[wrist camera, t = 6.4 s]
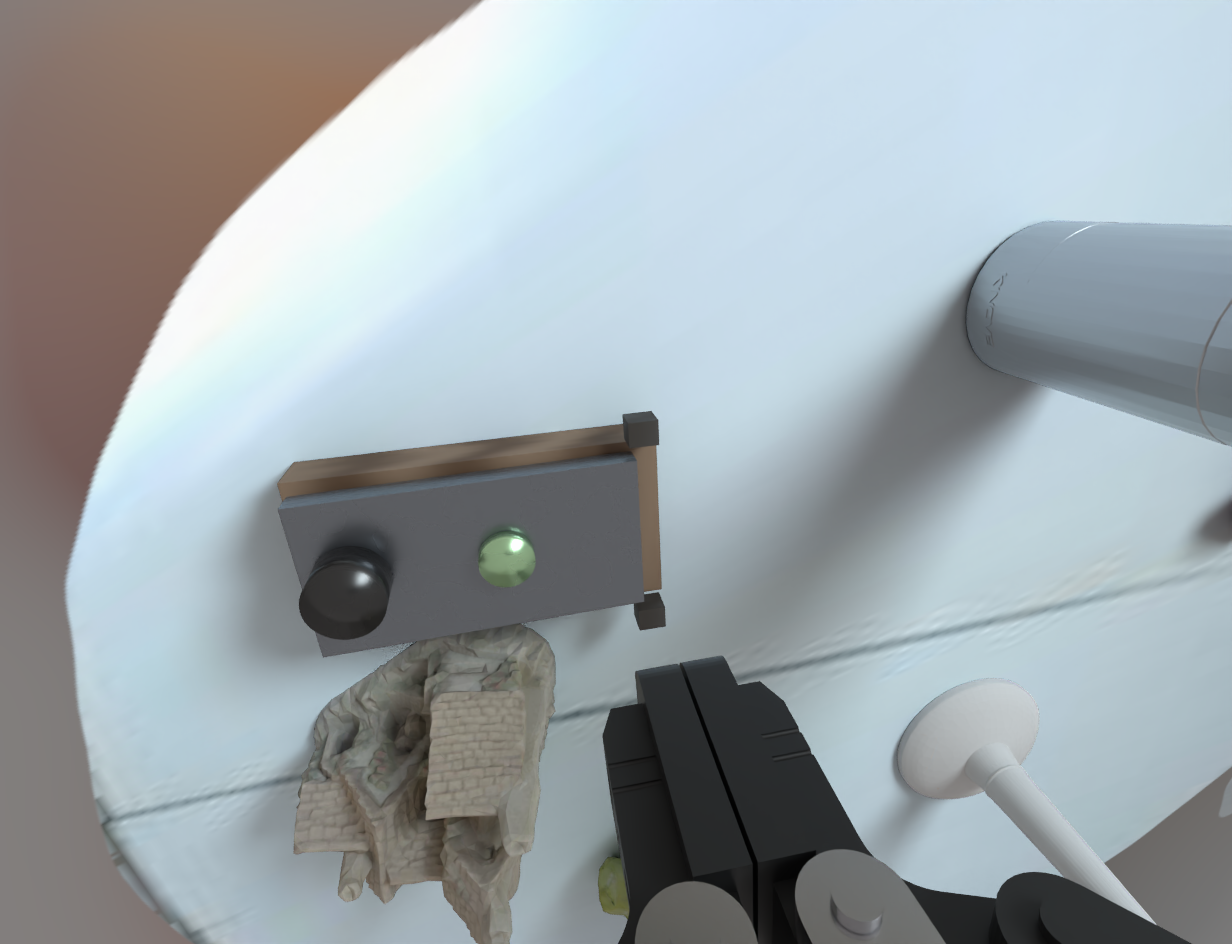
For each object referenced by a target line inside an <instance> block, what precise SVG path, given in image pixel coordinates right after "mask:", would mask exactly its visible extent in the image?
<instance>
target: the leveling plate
mask: <svg viewBox="0 0 1232 944" xmlns="http://www.w3.org/2000/svg"><path fill="white" fill-rule="evenodd" d="M278 512H279V515H280V518H281V522H282V525H283V528H284V531H285V535H286V538H287V541H288V545H289V548H290V551H291V554H292V558H293V561H294V564H295V567H296V571H297V574H298V577H299V580H300V584H301V587H302V590H303V591H302V593H301V595H300V599H299V610H300V613H301V616H302V618H303V620H304V621H305V623H306V624H307V625H308V626H309V627H310V628H311V629H312V630H314V631H315V633H316V636H317V639H318V642H319V646H320V649H321V652H322V655H323V657H328V656H333V655H339V654H345V653H351V652H356V651H362V650H368V649H374V648H380V647H385V646H391V645H397V644H403V643H408V642H414V641H420V640H426V639H432V638H437V637H443V636H449V635H455V634H460V633H466V632H472V631H478V630H484V629H489V628H495V627H501V626H507V625H512V624H518V623H524V622H530V621H536V620H541V619H547V618H553V617H559V616H564V615H570V614H576V613H582V612H587V611H593V610H599V609H605V608H611V607H616V606H622V605H628V604H634V603H639V602H644V585H643V566H642V546H641V527H640V508H639V488H638V469H637V460H636V458H635V457H634V455H633V454H632V452H631V451H627V452H620V453H612V454H604V455H597V456H589V457H582V458H574V459H567V460H559V461H552V462H544V463H537V464H529V465H522V466H514V467H507V468H499V469H492V470H484V471H477V472H469V473H461V474H454V475H446V476H439V477H431V478H424V479H416V480H409V481H401V482H394V483H386V484H379V485H371V486H364V487H356V488H349V489H341V490H334V491H326V492H318V493H311V494H303V495H296V496H288V497H286V498H285V499H284V501H283V502H282V504H281V505H280V507H279V508H278Z"/></svg>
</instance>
